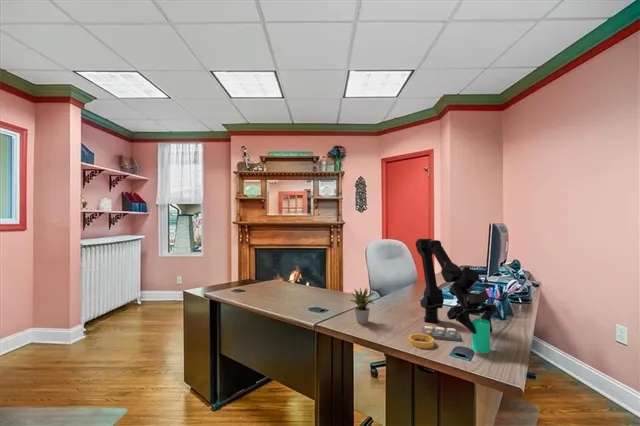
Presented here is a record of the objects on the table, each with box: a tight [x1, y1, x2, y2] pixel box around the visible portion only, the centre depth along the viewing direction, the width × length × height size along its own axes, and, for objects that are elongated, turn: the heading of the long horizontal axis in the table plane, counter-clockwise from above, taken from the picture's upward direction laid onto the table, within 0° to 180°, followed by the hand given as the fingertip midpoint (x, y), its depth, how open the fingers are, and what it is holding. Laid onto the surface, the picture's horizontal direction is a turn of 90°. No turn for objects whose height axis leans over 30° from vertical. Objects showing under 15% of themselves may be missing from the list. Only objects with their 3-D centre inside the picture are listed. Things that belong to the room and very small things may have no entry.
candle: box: [471, 316, 491, 354], centre depth 113 cm, size 6×6×12 cm
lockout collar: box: [408, 333, 435, 349], centre depth 119 cm, size 9×9×2 cm
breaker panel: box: [421, 325, 461, 342], centre depth 127 cm, size 9×14×2 cm, turn 74°
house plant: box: [349, 287, 378, 325], centre depth 143 cm, size 14×14×16 cm
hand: (483, 332), depth 112 cm, fingers open, 6 cm apart
